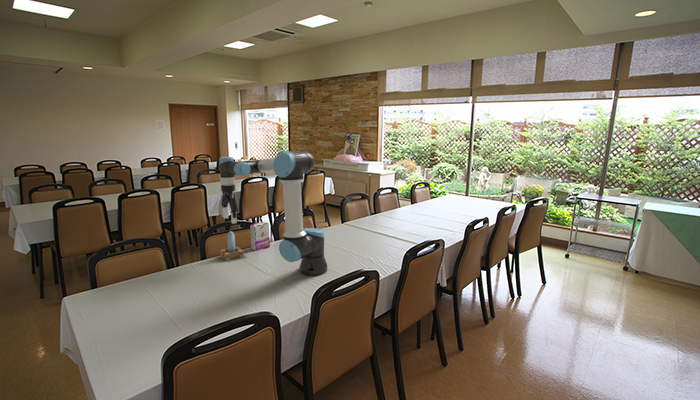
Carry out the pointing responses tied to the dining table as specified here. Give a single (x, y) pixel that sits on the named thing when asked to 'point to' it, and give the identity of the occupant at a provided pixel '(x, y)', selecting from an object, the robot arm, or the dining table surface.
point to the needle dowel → (231, 242)
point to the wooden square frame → (232, 254)
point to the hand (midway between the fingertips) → (230, 220)
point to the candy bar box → (260, 236)
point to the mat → (237, 259)
